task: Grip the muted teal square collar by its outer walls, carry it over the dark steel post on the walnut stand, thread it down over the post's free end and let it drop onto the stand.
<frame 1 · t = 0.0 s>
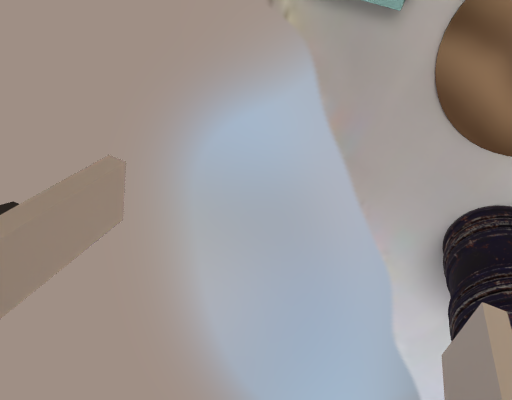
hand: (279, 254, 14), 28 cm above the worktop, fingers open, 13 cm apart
storage jar: (495, 246, 40), on the worktop
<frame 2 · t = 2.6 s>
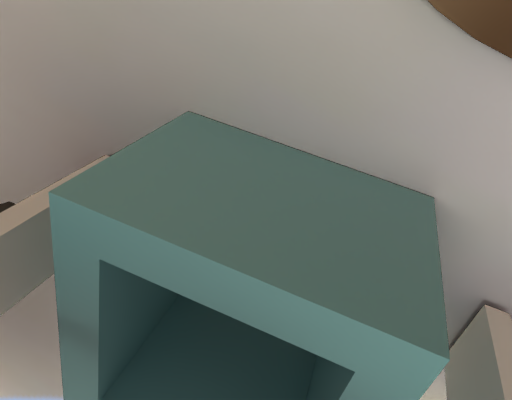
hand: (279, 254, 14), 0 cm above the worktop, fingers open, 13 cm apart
collar: (273, 249, 14), on the worktop
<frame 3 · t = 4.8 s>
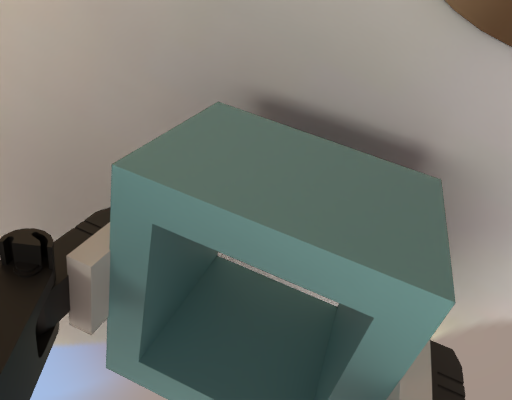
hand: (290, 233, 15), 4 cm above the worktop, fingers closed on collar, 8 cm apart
collar: (292, 230, 16), point 4 cm above the worktop, touching gripper
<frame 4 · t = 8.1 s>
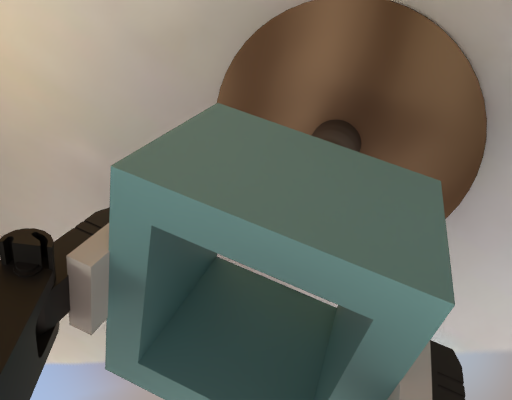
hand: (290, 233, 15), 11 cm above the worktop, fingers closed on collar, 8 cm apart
post stand: (337, 139, 25), on the worktop
collar: (292, 231, 16), point 11 cm above the worktop, touching gripper
when the fingers open (2 cm above the worktop, at t = 11.5 s): collar stays where it is, resting on post stand.
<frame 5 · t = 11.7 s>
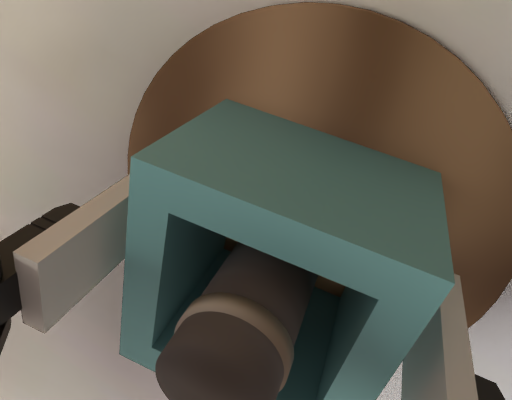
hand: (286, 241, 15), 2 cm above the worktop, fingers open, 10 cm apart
post stand: (301, 212, 17), on the worktop
collar: (297, 222, 16), point 1 cm above the worktop, touching post stand
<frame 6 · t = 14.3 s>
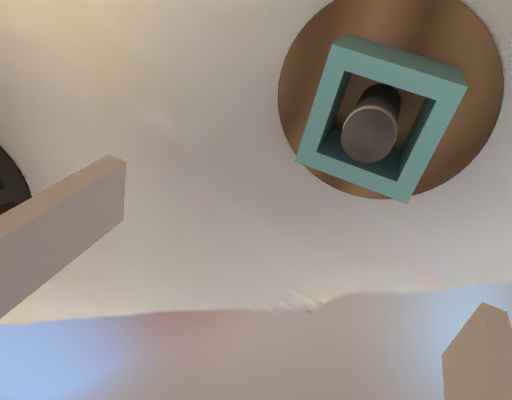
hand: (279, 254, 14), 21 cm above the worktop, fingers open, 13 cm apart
post stand: (380, 101, 31), on the worktop
collar: (380, 104, 30), point 1 cm above the worktop, touching post stand
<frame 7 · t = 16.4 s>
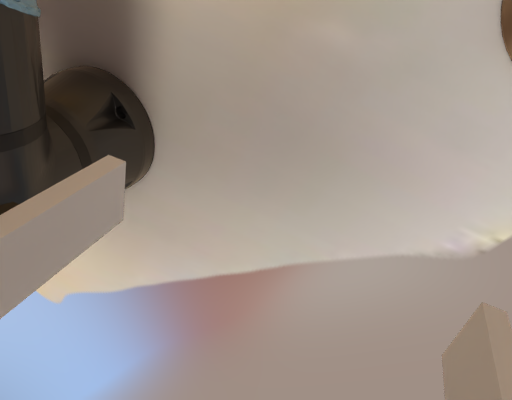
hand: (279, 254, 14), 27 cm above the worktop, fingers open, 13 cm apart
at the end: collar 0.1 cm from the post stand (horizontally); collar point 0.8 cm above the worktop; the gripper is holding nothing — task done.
